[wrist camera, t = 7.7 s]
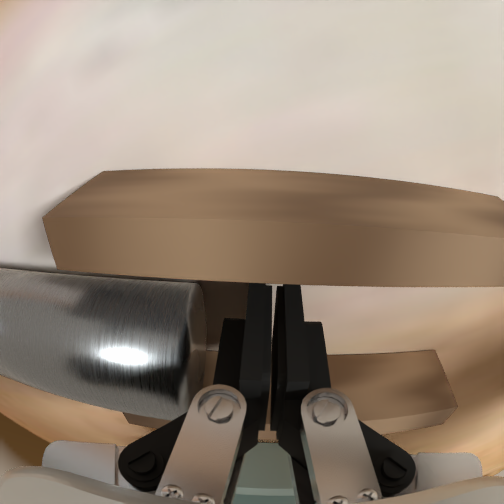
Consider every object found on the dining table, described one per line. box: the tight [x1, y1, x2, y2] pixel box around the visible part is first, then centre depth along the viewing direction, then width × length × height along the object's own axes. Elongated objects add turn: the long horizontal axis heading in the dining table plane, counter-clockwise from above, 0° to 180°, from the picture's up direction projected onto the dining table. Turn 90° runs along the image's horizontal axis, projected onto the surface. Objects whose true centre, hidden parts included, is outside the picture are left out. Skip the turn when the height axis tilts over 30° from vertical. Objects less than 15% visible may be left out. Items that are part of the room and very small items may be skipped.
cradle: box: [233, 443, 296, 504], centre depth 20 cm, size 10×10×4 cm
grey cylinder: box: [0, 268, 207, 421], centre depth 10 cm, size 13×5×5 cm, turn 89°
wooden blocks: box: [42, 169, 504, 440], centre depth 10 cm, size 14×10×4 cm
